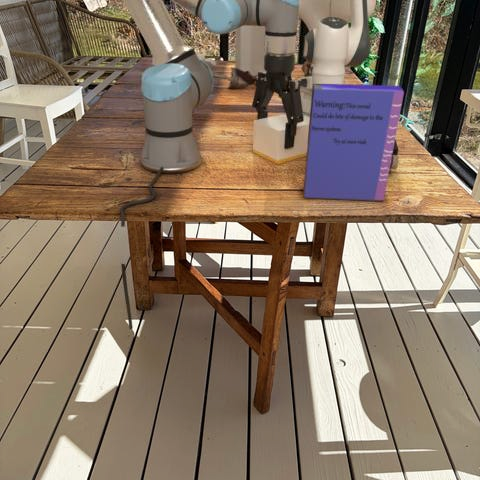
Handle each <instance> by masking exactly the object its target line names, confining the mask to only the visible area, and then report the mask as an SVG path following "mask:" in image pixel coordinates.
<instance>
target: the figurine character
mask: <svg viewBox="0 0 480 480" xmlns="http://www.w3.org/2000/svg"><path fill="white" fill-rule="evenodd" d="M398 153H399V146H398V143H397V140H396V138H395V142H394V148H393V153H392V158H391V164H390V169H389V170H397V169H398V165H399V155H398ZM389 175H390V172H389V174H388V176H389Z"/></svg>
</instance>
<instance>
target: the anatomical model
mask: <svg viewBox="0 0 480 480" xmlns="http://www.w3.org/2000/svg"><path fill="white" fill-rule="evenodd" d="M305 60H306V59H305ZM310 65H311V64H310V63H309V62H308V61H307V60H306V61H304V63H303V64H302V66H301V71H302V73H303V77H308V76H309V69H310Z"/></svg>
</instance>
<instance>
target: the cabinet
mask: <svg viewBox="0 0 480 480" xmlns="http://www.w3.org/2000/svg"><path fill="white" fill-rule="evenodd" d="M298 118H299V117H298ZM303 118H304V121H303V122H300V123H297V130H296V136H295V139H294V147H291V148H288V149H285V148H284V142H285V126H286V123H287V122H288V120H287V116H286V113H282V114H277V115H273V116H268V118H263V119H258V120H257V119H255V120H253V136H252V153H254V154H256V155H258V156H260V157H261V158H264V159H266V160H269V161H270V162H272V163H274V164H275V165H276V164H277V165H279V164H282V163H285V162H289V161H292V160H297V159H299V158H304V157H306V153H307V142H308V131H309V120H310V117H307V116H305V115H303ZM292 119H293V117H292Z"/></svg>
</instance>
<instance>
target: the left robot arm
mask: <svg viewBox="0 0 480 480" xmlns="http://www.w3.org/2000/svg"><path fill="white" fill-rule="evenodd" d="M170 1H171V2H173V3H174V4H176V5H178V6H179V7H181V8H182V9H184V10H186V11H187V12H188V13H190V14H191V15H193V16H194V17H196V18H198V19H200V20H201V21H202V23H203V25H204V27H205V28H206V30H208V31H209V32H210V33H212V34H215V35H226V34H230V33H232V32H234V31H236V28H239V27H241V26H243V25H247V26H265V46H264V51H265V52H266V53H267V54H265V55H264V69H265V70H266V71H264V72H258V75H257V77H258V82H257V86H255V91H254V95H253V100H252V103H251V106H252V108H254V109H255V111H256V112H257V113H256V114H257V115H256V117H257V119H256V120H258V119H263V118H268V117H269V111H268V109H269V108H268V107H269V104H270V102H271V100H272V99H273V96H274V94H276V95H277V96H278V97H279V99H280V100H281V103H282V106H283V110H284V114H286V116H287V120H288V122H287V123H286V126H285V142H284V148H285V149H288V148H291V147H294V139H295V136H296V130H297V123H300V122H303V121H304V118H303V114H304V112H303V110H302V102H301V94H300V86H301V82H300V81H299V79H297V80H294V79H293V78H292V73H293V71H295V68H296V67H295V66H296V56H295V53H296V47H297V34H298V33H297V32H298V21H299V16H298V10H299V0H170ZM123 2H124V4H125V6H126V8H127V10H128V11H129V13H130V15H131V18H132V19H133V21H134V22H135V25H136V27H137V28H138V30H139V32H140V34H141V36H142V37H143V40H144V41H145V43H146V45H147V47H148V49H149V50H150V53H151V54H152V57H153V56H154V58H155V61H156V62H155V66H153V65H152V66H150V67H148V68H146V69H145V70H144V71H143V72H142V74H141V79H140V80H141V85H140V91H141V95H142V97H141V98H142V106H143V115H144V125H145V126H144V127H145V138H144V142H143V146H142V150H141V154H140V162H141V166H142V168H144V169H145V170H146V171H149V172H151V173H156V174H155V176H154V177H153V179H152V180H151V182H150V183H149V185H148V191H149V192H150V193H151V196H150V197H148V198H145V199H139V200H134V201H129V202H127V203H125V204H123V205H122V206H121V207H120V208H119V213H120V227H121V228H123V227H125V225H126V215H125V212H124V211H125V209H127V208H128V207H131V206H134V205H140V204H146V203H149V202H152V201H154V199H155V198H156V192H155V190H154V189H153V186H154V184H155V183H156V181H157V180H158V179H159V177H160V175H161V174H163V175H164V174H165V175H169V174H170V175H172V174H173V175H175V174H182V173H187V172H190V171H193V170H195V169H197V168H198V167H199V166H201V163H202V155H201V151H200V149H199V146H198V143H197V141H196V137H195V135H194V130H193V129H194V126H193V111H195V110H196V109H197V108H198V107H200V106H202V105H203V104H205V103H206V102H207V101H208V99H209V98H210V97H211V95H212V93H213V90H214V87H215V78H214V77H213V75H214V74H213V71H212V69H211V68H210V66H209V65H208V63H207V62H203V61H201V60H200V59H198V57H197V55H196V53H195V52H196V51H195V49H194V48H193V46H190V45H187V44H186V43H185V42H184V40H183V38H182V36H181V34H180V32H179V30H178V28H177V27H176V24H175V22H174V20H173V18H172V17H171V14H170V13H169V11H168V8H167V7H166V4H165V2H164V1H163V0H123ZM292 117H293V119H292ZM298 117H299V118H298ZM120 265H121V276H122V285H123V292H124V299H125V306H126V313H127V320H128V328H129V330H133V329H134V328H133V318H132V311H131V304H130V297H129V289H128V283H127V272H126V264H125V263H123V262H122V263H120Z"/></svg>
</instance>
